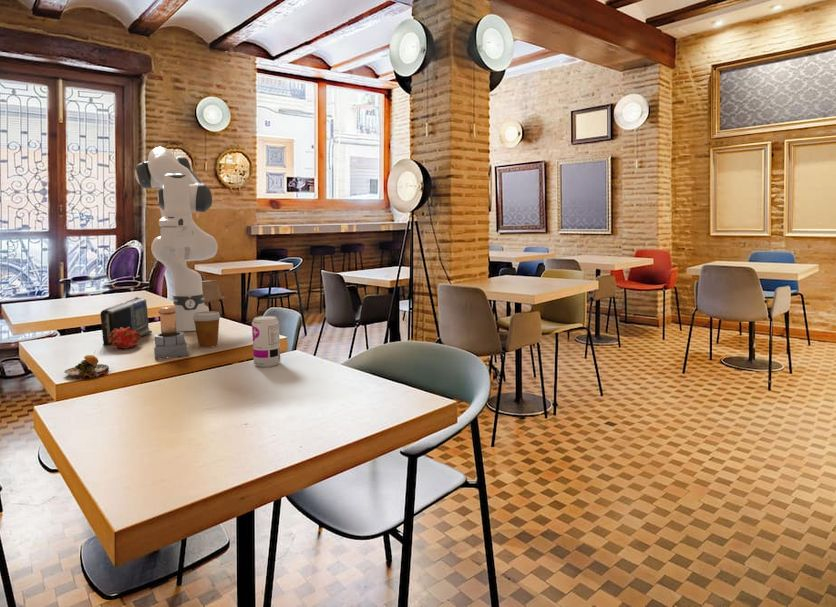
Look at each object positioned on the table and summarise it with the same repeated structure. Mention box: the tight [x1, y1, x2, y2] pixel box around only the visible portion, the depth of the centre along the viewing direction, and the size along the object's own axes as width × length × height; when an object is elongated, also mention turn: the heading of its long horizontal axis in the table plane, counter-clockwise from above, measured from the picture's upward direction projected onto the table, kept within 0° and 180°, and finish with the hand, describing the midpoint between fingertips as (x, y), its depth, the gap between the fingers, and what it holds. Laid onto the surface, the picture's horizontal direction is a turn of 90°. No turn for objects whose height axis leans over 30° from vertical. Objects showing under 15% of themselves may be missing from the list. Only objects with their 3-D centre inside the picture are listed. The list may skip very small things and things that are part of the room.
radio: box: [100, 296, 153, 347], centre depth 224 cm, size 23×9×15 cm, turn 162°
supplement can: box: [251, 315, 281, 368], centre depth 187 cm, size 8×8×15 cm
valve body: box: [153, 331, 189, 360], centre depth 203 cm, size 16×10×7 cm, turn 25°
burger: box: [64, 351, 110, 380], centre depth 177 cm, size 12×12×8 cm
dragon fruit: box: [108, 327, 142, 350], centre depth 211 cm, size 8×8×12 cm
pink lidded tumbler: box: [158, 306, 178, 337], centre depth 200 cm, size 5×5×12 cm
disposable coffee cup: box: [192, 310, 221, 348], centre depth 213 cm, size 10×10×12 cm
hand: (181, 260), depth 207 cm, fingers open, 8 cm apart
